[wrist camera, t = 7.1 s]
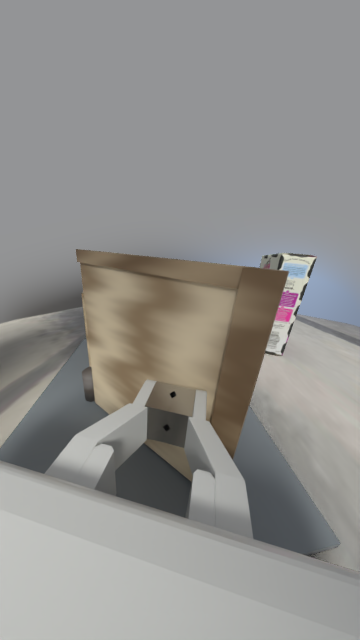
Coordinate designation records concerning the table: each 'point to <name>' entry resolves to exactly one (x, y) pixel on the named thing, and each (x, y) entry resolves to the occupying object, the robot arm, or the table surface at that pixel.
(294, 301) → the candy bar box
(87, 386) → the bar
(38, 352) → the table surface
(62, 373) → the card
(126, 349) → the brown wooden panel
